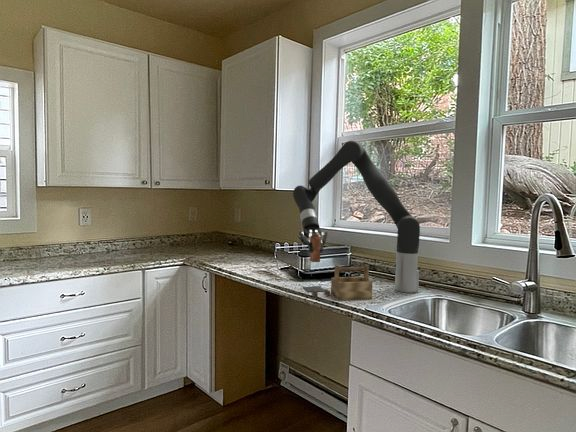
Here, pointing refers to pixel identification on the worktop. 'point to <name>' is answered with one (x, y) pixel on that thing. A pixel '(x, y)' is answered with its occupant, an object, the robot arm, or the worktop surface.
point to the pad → (317, 288)
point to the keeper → (324, 293)
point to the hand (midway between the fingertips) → (316, 251)
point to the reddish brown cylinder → (315, 248)
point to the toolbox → (351, 284)
